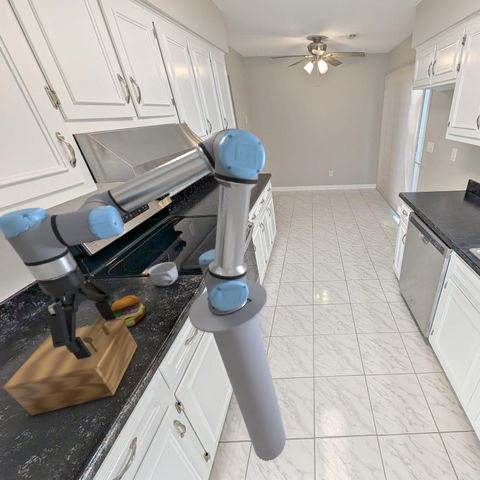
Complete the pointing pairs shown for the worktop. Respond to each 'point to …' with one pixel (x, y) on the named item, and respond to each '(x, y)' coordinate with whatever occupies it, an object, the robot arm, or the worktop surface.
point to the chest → (79, 381)
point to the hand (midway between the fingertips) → (98, 336)
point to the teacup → (163, 273)
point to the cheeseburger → (128, 310)
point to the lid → (68, 355)
